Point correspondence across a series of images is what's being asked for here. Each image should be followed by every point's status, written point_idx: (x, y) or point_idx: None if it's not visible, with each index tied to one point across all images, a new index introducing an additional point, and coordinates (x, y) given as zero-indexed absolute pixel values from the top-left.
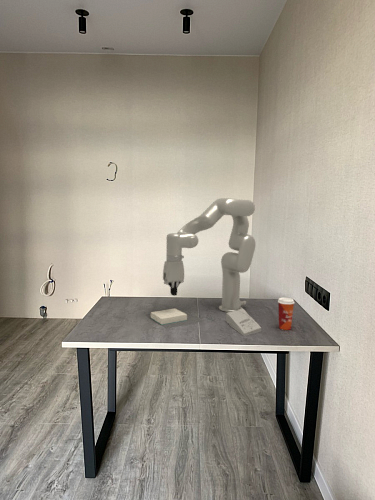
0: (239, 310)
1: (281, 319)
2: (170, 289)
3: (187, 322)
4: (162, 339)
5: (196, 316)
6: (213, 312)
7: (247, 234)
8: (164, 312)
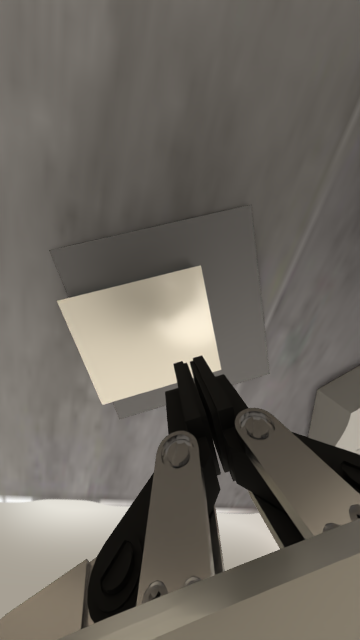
0: None
1: None
2: (167, 417)
3: None
4: (96, 482)
5: (262, 323)
6: (343, 277)
7: None
8: (131, 321)
